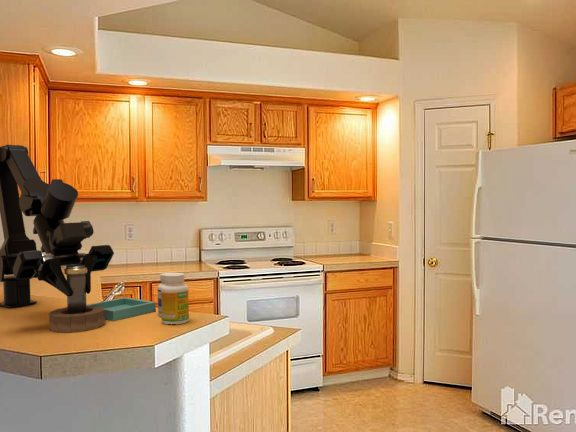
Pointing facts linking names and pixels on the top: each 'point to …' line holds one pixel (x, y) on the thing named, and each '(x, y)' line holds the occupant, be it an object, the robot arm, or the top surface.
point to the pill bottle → (160, 293)
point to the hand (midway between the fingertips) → (79, 293)
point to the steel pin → (76, 288)
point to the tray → (125, 308)
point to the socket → (76, 320)
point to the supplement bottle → (174, 299)
